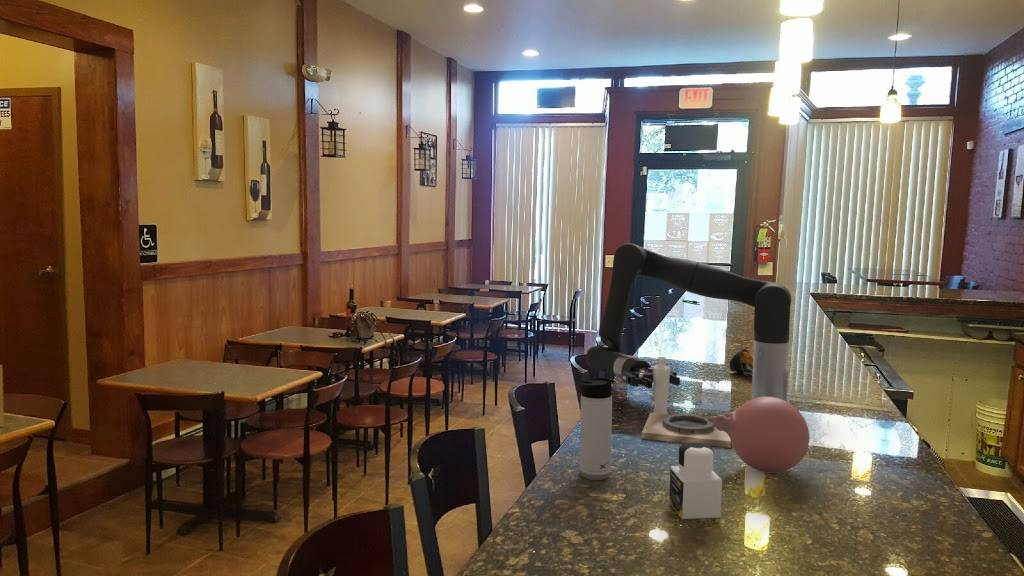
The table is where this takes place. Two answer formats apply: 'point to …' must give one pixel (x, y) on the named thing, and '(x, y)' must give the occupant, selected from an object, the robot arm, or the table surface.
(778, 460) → the balloon
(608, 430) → the travel mug
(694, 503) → the medicine bottle
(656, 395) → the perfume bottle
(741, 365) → the black and orange lump
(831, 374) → the table surface
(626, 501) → the table surface
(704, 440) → the hub board
